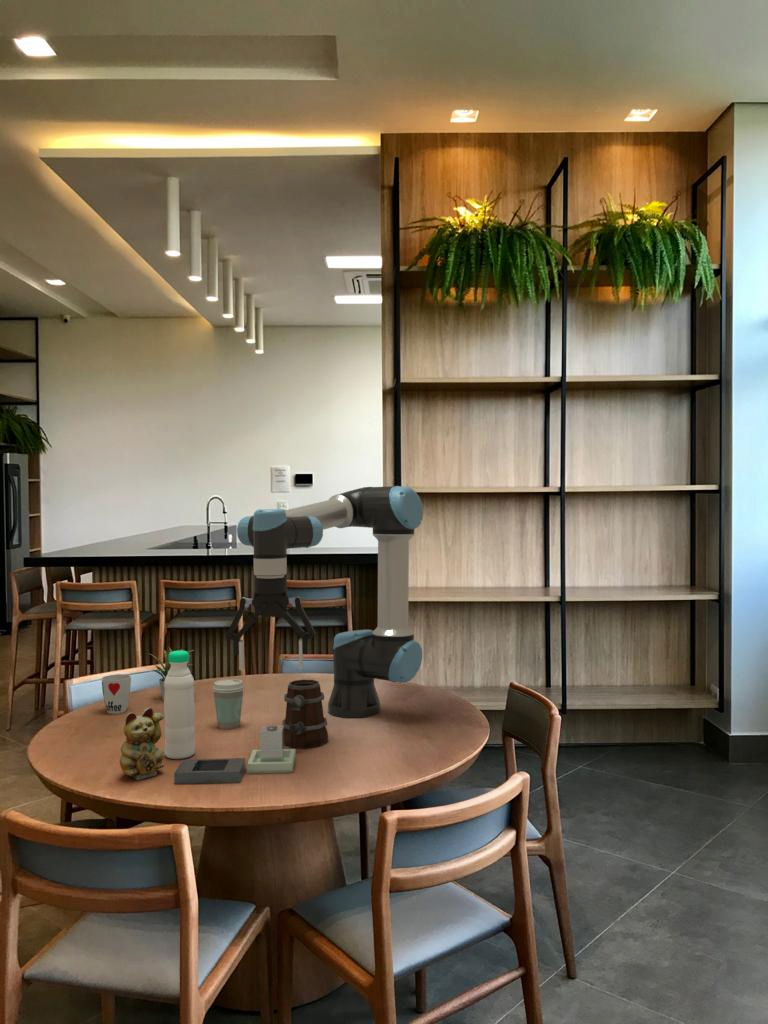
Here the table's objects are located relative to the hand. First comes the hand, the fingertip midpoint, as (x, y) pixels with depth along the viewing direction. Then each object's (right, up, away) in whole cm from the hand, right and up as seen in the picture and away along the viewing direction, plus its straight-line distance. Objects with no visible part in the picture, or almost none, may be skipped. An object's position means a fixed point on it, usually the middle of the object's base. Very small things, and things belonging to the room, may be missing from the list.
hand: (271, 668), depth 183 cm
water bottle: (-23, -23, +8) cm, 34 cm away
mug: (+5, -22, +17) cm, 28 cm away
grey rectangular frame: (-13, -23, -6) cm, 27 cm away
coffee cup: (-16, -22, +33) cm, 43 cm away
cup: (-52, -22, +48) cm, 74 cm away
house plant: (-38, -22, +62) cm, 76 cm away
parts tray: (0, -23, 0) cm, 23 cm away
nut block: (0, -22, 0) cm, 22 cm away
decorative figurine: (-29, -23, -5) cm, 37 cm away
